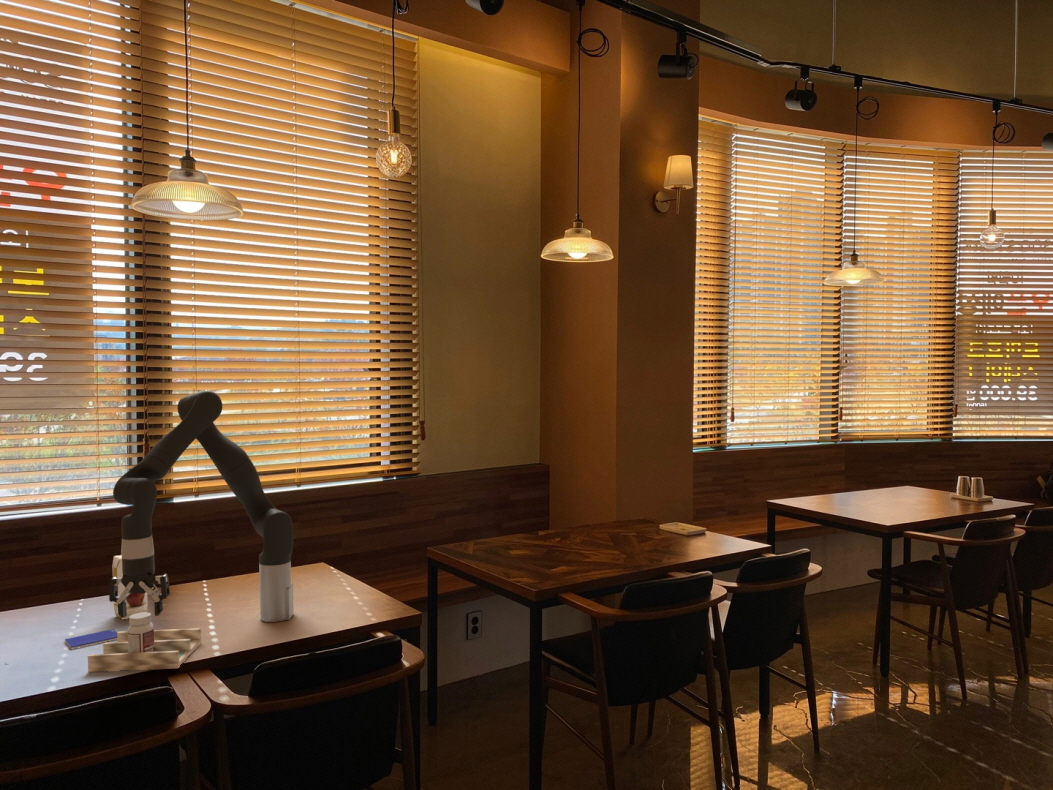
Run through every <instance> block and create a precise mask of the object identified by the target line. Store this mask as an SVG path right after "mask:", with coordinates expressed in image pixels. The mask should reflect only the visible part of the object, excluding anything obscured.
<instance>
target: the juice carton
mask: <svg viewBox="0 0 1053 790" xmlns="http://www.w3.org/2000/svg"><path fill="white" fill-rule="evenodd" d="M115 576H117V577H118V578H122V577H123V573H122V556H121V554H120V555H113V560H112V578H113V577H115ZM124 589H125V586H124V585H123V584H122V583H120V585H119V586H118V596H120V595H121V594H122V592H123V591H124ZM125 601H126V607H127V615H126V616H125V617H124V618H121V617H120V616H119V614H118V604H117V603H116V602H113V611H114V615H115V617H117V616H118V617H117V618H119V619H120V618H121V619H120V620H122V619H126V620H129V619H128V618H129V616H131V615H133V614H136V613H142V612H147V611H148V603H149V602H148V594H147V592H146V593H145V594H140V593H137V594H132V593H130V594H129V595H128V596H127V598H126V599H125Z"/></svg>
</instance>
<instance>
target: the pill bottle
mask: <svg viewBox="0 0 1053 790" xmlns="http://www.w3.org/2000/svg"><path fill="white" fill-rule="evenodd" d="M151 621H152V613H151V612H142V613H136V614H133V615H131V616H129V619H128V624H129V626H128V628H127V631H128V653H137V652H155V648H154V630H155V627H154V624H153V622H151Z"/></svg>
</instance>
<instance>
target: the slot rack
mask: <svg viewBox="0 0 1053 790" xmlns="http://www.w3.org/2000/svg"><path fill="white" fill-rule="evenodd" d="M201 644H202V628H201V627H200V628H198V627H197V628H196V627H195V628H177V629H176V628H175V629H172V628H171V629H154V648H155V652H137V653H128V630H126V631H124V630H123V631H118V632H117V640H116V641H115V642H114V641H110V642H105V643H102V650H103V651H102V652H103V653H98V654H93V653H92V654H88V655H87V673H98V672H97V671H108V672H121V671H120V670H129V671H147V670H148V669H151V670H167V669H171V670H172V669H179V668H180V667H181V666H182V665H183V664H182V663H183V662H184V663H185V662H186V660H188V658H189V657H190V656H191V655H192V654H193V653H194V652H195V651H196V649H197V648H198V647H200V646H201ZM194 650H195V651H194ZM193 651H194V652H193ZM192 652H193V653H192ZM191 653H192V654H191ZM190 654H191V655H190ZM189 655H190V656H189ZM188 656H189V657H188ZM187 657H188V658H187ZM181 664H182V665H181ZM180 665H181V666H180Z"/></svg>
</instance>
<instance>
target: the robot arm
mask: <svg viewBox="0 0 1053 790" xmlns="http://www.w3.org/2000/svg"><path fill="white" fill-rule="evenodd" d="M176 406H177V413H178V416H179V417H180V420H181V421H180V422H179V423H178V424H177V425H176V426H175V427H174V428H173V429H172V430H170V431H169V432H168V433H167V434H165V435H164V436H163V437H162V438H160V439H159V440H158V441H157V442H156V443H155V444H154V445H153V447H151V448H150V450H149V451H148V452H147V453H146V454H145V455H144V457H143V459H142V460H141V461H139V462H138V463H137V464H136V465H135V466H133V467H132V468H130V469H129V470H128V471H126V472H125V473H124V474H123V475H122V476H120V478H119V479H117V481H116V482H115V485H114V487H113V490H112V495H113V499H114V500H115V501H116V502H117V503H118V504H121V505H124V506H125V505H126V506H127V505H128V506H132V511H131V513H130V514H126V515H125V516H123V517H122V519H121V549H120V551H121V552H120V555H121V556H122V573H123V577H122V578H118V577H117V576H115V577H113V576H112V578H110V579H109V581H108V582H109V584H108V585H109V589H108V590H109V592H108V595H109V596H108V599H109V602H111V603H112V602H113V603H114V602H116V603H117V604H118V614H119V616H120V617H121V618H124V617H125V616H126V615H127V607H126V601H125V599H126V598H127V596H128V595H129V594H130V593H132V594H137V593H140V594H145V593H146V592H147V596H149V597H151V598H152V600H154V603H153V604H154V616H155V617H156V616H157V617H158V616H160V615H161V613H163V610H164V604H163V603H164V602H163V600H165V599H167V598H168V597H169V596H170V595H171V591H170V580H169V575H168V574H167V573H164V574H163V575H156V573H155V571H156V570H155V569H156V567H155V565H156V564H155V548H154V547H155V546H154V539H153V529H152V527H153V526H152V525H153V523H152V519H153V516H154V512H155V507H156V502H157V499H158V488H157V486H156V484H155V481H158V480H162V479H163V478H164V477H166V475H167V474H168V472H169V471H170V470H171V468H172V467H173V466H174V465H175V463H176V462H177V461H178V459H180V457H181V456H182V454H183V453H184V452H185V451H186V450H187V449H188V448H189V446H191V444H193V442H194V441H195V440H197V442H199V444H200V445H201V447H202V448H203V449H204V451H205V453H206V454H207V455H208V457H209V459H210V460H211V461H212V462H213V464H214V466H215V467H216V470H218V471H217V472H218V473H219V474H220V475H221V478H223V480H224V481H225V483H226V485H228V487H229V489H230V491H232V493H233V495H235V497H236V499H238V501H239V502H240V503H241V504H242V506H243V509H244V510H245V511H246V513H247V515H248V517H249V520H250V522H251V524H252V526H253V527H254V529H255V531H256V533H257V534H258V535H259V536H260V537H262V538H263V539H262V541H263V544H262V545H263V547H262V552H260V553H259V555H258V565H259V567H258V568H259V570H258V571H259V605H260V606H259V608H260V609H259V610H260V611H259V612H260V613H259V615H260V620H261V621H263V622H266V623H277V622H282V621H288V620H291V618H292V617H293V615H294V608H295V607H294V584H293V583H292V564H291V563H292V561H291V560H292V559H291V558H292V557H291V556H292V554H293V549H294V524H293V523H294V522H293V520H292V517H291V516H290V515H289V514H288V513H287V512H285V511H282V510H279V509H277V508H276V506H275V505H274V504H273V503H272V502H271V500H270V499H269V498H268V496H267V495H266V493H265V492H264V489H263V487H262V483H261V479H260V475H259V472H258V470H257V468H256V466H255V465H254V463H253V462H252V460H251V458H250V456H249V455H248V453H247V452H246V450H244V449H243V448H242V447H241V446H239V445H238V444H237V443H236V442H234V441H233V440H231V439H230V438H228V437H227V436H226V435H224V434H223V433H222V432H221V431H220V430H219V429H218V427H217V425H215V421H217V419H218V418H219V417H220V416H221V414H222V412H223V411H222V410H223V407H224V406H223V402H222V399H221V397H220V396H219V394H217V392H215V391H211V390H202V391H198V392H194V393H191V394H187V395H185V396H183V397H181V398H180V399H179V401H178V403H177V405H176ZM156 582H157V583H158V584H159V585H160V589H161V591H160V590H159V588H158V587H157V585H155V583H156ZM120 583H122V584H123V585H124V586H125V589H124V591H123V592H122V594H121V595H120V596H118V586H119V585H120Z"/></svg>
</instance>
